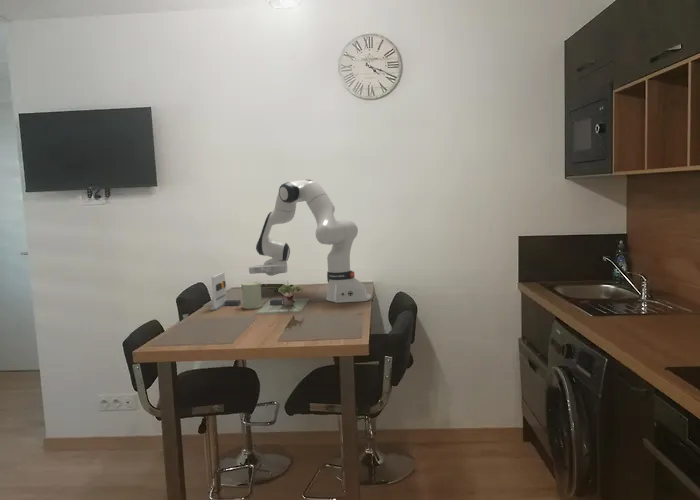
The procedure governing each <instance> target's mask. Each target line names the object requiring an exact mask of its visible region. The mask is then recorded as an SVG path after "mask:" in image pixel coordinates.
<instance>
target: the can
mask: <svg viewBox="0 0 700 500" xmlns="http://www.w3.org/2000/svg"><path fill="white" fill-rule="evenodd" d="M241 289H242V308H244V309H248V310H250V309H251V310H253V309H259V308H261V307H263V301H262V283H261V282H260V281H248V282H242V283H241Z"/></svg>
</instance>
